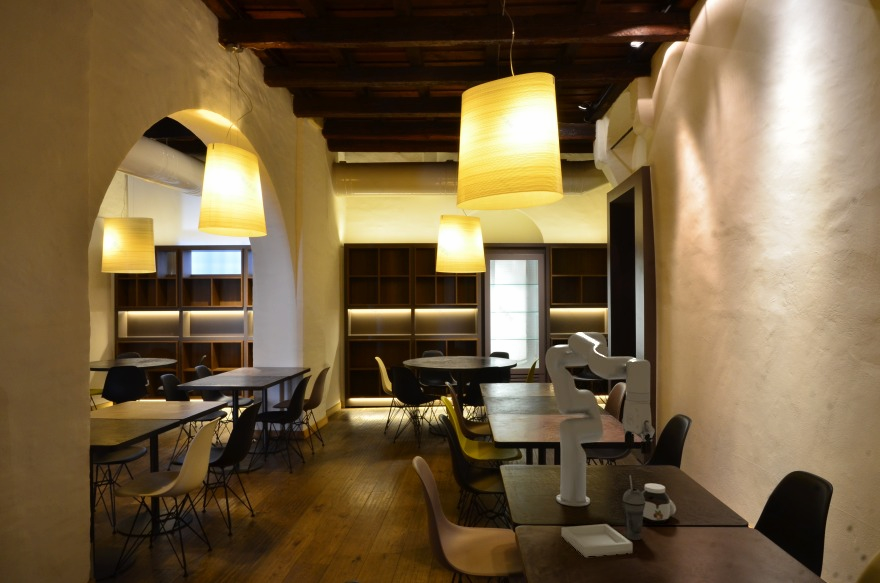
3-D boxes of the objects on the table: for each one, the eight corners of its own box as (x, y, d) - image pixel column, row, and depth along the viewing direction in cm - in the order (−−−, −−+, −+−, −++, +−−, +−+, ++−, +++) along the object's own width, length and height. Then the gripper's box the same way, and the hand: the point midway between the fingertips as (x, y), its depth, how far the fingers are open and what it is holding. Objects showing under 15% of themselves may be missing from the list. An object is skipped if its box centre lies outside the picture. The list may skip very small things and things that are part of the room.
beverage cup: (646, 542, 190) (647, 479, 190) (623, 540, 191) (623, 478, 191) (643, 534, 197) (644, 473, 197) (620, 532, 198) (621, 471, 199)
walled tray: (561, 536, 194) (561, 527, 194) (606, 532, 197) (606, 523, 197) (584, 557, 178) (584, 547, 178) (632, 553, 182) (632, 543, 182)
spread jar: (638, 520, 209) (639, 487, 209) (640, 510, 219) (641, 478, 219) (675, 526, 204) (676, 492, 204) (675, 515, 215) (676, 482, 215)
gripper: (613, 393, 202) (613, 443, 202) (642, 402, 186) (642, 457, 185) (633, 392, 204) (633, 442, 204) (663, 401, 187) (663, 456, 187)
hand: (637, 449), depth 195 cm, fingers open, 9 cm apart
